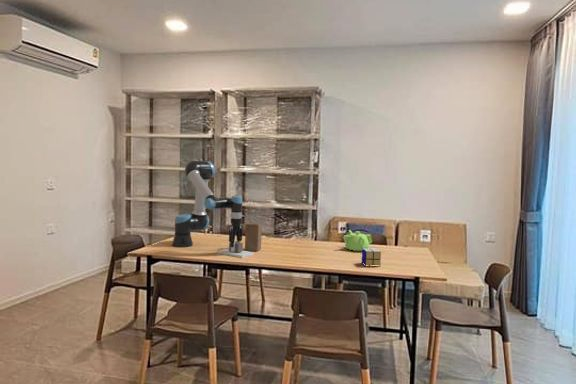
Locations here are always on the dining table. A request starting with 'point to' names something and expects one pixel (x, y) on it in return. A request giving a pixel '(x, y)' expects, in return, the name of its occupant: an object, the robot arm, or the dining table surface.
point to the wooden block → (253, 236)
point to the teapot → (357, 241)
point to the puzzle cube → (371, 256)
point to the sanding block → (237, 247)
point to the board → (235, 253)
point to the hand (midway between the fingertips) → (235, 250)
